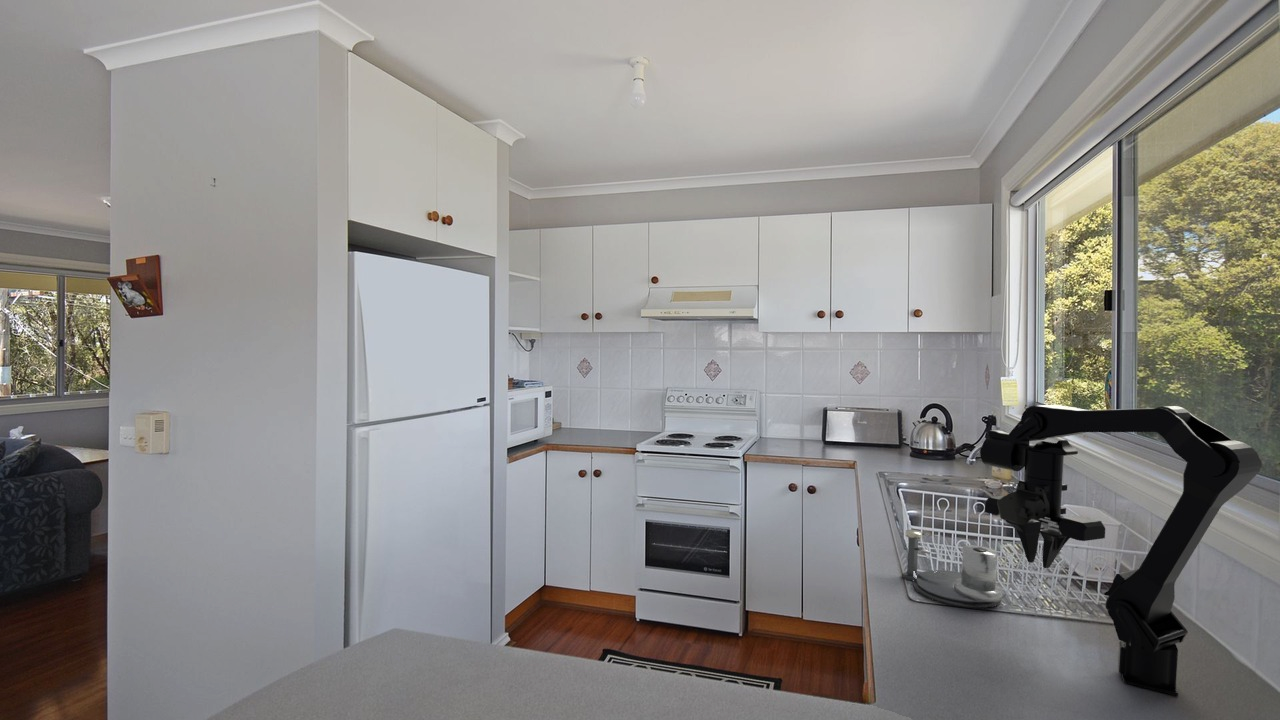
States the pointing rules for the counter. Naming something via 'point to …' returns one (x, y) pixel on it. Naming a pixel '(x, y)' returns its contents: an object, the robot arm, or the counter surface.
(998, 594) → the cover
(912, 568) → the stand
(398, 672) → the counter surface
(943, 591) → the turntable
